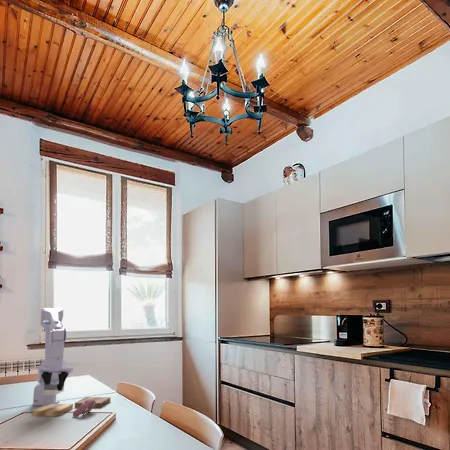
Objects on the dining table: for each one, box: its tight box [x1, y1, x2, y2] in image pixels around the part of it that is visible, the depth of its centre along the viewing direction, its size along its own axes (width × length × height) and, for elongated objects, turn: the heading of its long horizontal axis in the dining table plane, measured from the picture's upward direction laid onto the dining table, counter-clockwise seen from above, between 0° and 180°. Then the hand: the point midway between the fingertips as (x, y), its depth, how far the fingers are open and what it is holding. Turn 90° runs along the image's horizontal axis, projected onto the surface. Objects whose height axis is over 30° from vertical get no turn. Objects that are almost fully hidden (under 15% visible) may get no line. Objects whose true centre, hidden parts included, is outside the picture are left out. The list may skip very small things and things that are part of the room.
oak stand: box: [31, 403, 74, 417], centre depth 177 cm, size 12×12×2 cm
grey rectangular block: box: [44, 382, 65, 396], centre depth 178 cm, size 5×8×4 cm, turn 176°
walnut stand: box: [74, 396, 111, 409], centre depth 190 cm, size 12×12×2 cm
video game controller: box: [72, 400, 96, 417], centre depth 173 cm, size 10×5×7 cm, turn 169°
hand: (54, 390), depth 178 cm, fingers closed on grey rectangular block, 5 cm apart
